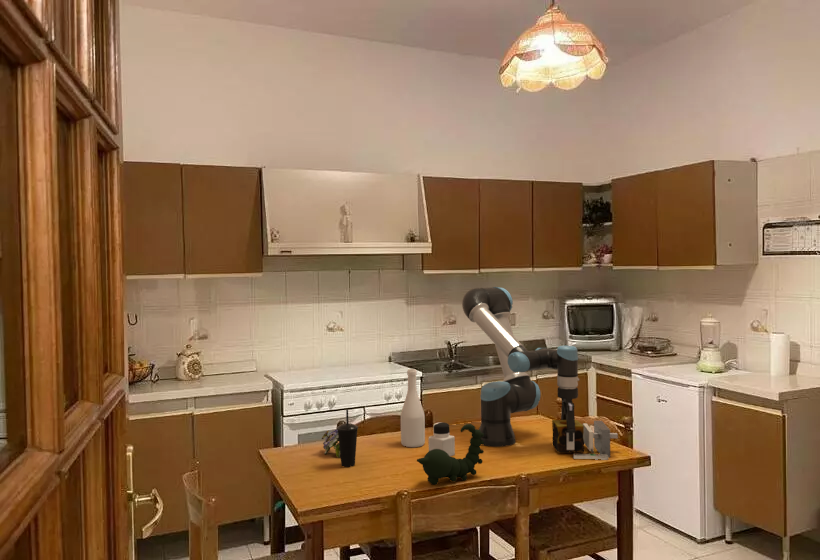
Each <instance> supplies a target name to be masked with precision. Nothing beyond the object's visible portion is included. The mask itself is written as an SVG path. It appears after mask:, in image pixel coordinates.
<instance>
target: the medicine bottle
mask: <svg viewBox="0 0 820 560" xmlns="http://www.w3.org/2000/svg"><path fill="white" fill-rule="evenodd" d="M432 427H433V428H432V429H433V431H432V432H433V435H430V436H428V452H429V451H430V450H433V449H441V450H443V451H445V452H446V453H447V454H448V455H449V456H450V457H454V456H455V455H456V452H455V451H456V445H455V441H456V439H455V436H454V435H450V432H451V430H450V428H451V427H450V423H447V422H445V421H444V422H436V423H435V422H434V424H433V426H432Z"/></svg>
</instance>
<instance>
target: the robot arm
mask: <svg viewBox="0 0 820 560" xmlns="http://www.w3.org/2000/svg"><path fill="white" fill-rule="evenodd" d="M461 304H462V305H461V307H462V311H463V313H464V314H465V316H466V317H467V319H469V321H470V322H472V323H475V324H476V325H477V326H478V327H479V328H480V329H481V330H482V331H483V332H484V334H485V335H486V336H487V337H488V338H489V339H490V340H491V341H492V342H493V344H494V346H495V349H496V353H497V356H498V360H499V364H500V367H501V370H502V374H503V379H502V381H501V380H498V381H491V382H487V383H485V384H483V385H482V387H481V389H480V397H479V398H480V410H481V411H480V417H481V418H480V421H481V422H480V425H479V428H478V430H480V431H481V433H483V434H484V436H483V437H481V440H483V441H484V444H483V445H482V446H485V447H496V448H497V447H499V448H502V447H508V446H512V445H514V444H515V443H516V435H515V432H514V430H513V426H512V424H511V414H515V413H519V412H527V411H530V410H533V409H535V408H536V407H538V405H539V404H540V403H539V402H540V400H541V390H540V387H539V384H538V383H536V382H535V381H533V380H531V376H530V374H528V373H527V372H530V371H532V372H533V371H539V370H545V369H548V370H549V369H550V370H556V371H557V375H556V377H557V378H556V380H557V382H556V383H557V384H556V385H557V386H558V387H557V397H558V398H559V399H561V411H560V412H561V414H560V415H561V416H560V420H566V422H567V431H565V433H567V450H574V432H575V431H576V430H575V420H576V419H575V403H573V402H574V401H573V400H575V399H578V398H579V389H578V386H579V381H580V378H579V353H578V348H577V347H576V346H574V345H559V346H558V347H557V348H556V349H553V348H552V349H551V348H547V347H537V348H536V349H534V350H527V348H526V347H525V346H524V345H523V344H522V343H521V342H520V341H519V340H518V339H517V338H516V337H515V335H514V333H513V330H512V325H511V323H510V319H509V318H510V316H511V315H512V314H511V313H512V312H511V311H512V308H513V304H514V303H513V298H512V296H511V293H510V292H509V291H508V290H507V289H505V288H504V287H498V286H492V287H474V288H471V289H469V290H468V291H466V293H465V294H464V295H463V298H462V301H461ZM570 428H572V429H570Z"/></svg>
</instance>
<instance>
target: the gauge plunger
mask: <svg viewBox="0 0 820 560" xmlns="http://www.w3.org/2000/svg"><path fill="white" fill-rule="evenodd" d="M582 425H583V426H584V433H583V439H584V446H586V447H585V448H587V450H588V451H589V452H591V454H595V451H594V450H595V447H594V438H598V433H594V430H592V428H591V426H589V424H588V423H582ZM610 439H619V434H618V433H617V432H610Z"/></svg>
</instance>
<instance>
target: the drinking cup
mask: <svg viewBox="0 0 820 560" xmlns="http://www.w3.org/2000/svg"><path fill="white" fill-rule="evenodd" d="M345 410H346V412H345V415H346V416H345V418H346V419H345V421H346V423H342V424H340V425H338V426H336V429H337V430H338V438H339V441H338V443H339V447H340V464H341V467H343V466H344V468H350V466H352V467H354V466H355V465H356V454H357V440H358V439H357V437H358V430H359V426H358V425H356V424H354V423H350V422H349V408H347V409H345Z"/></svg>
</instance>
